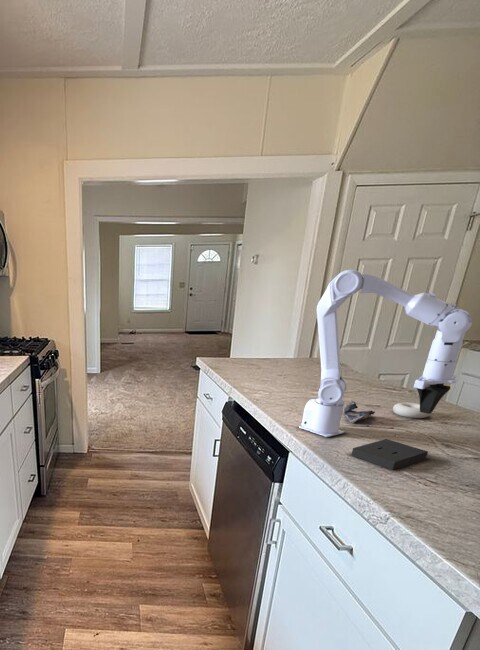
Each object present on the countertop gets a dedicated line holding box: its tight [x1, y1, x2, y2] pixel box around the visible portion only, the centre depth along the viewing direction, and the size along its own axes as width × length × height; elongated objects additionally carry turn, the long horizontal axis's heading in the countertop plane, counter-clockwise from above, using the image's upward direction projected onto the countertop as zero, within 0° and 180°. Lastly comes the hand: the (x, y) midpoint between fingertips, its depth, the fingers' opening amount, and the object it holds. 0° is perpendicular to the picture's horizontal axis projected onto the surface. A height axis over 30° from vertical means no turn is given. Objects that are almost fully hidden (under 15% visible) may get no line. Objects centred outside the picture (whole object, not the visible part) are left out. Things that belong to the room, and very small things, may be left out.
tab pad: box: [369, 438, 429, 465], centre depth 102 cm, size 10×9×2 cm
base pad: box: [351, 443, 411, 471], centre depth 100 cm, size 10×7×2 cm
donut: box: [392, 401, 431, 419], centre depth 132 cm, size 10×4×10 cm
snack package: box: [343, 401, 376, 424], centre depth 129 cm, size 12×6×12 cm
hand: (425, 412), depth 104 cm, fingers closed
